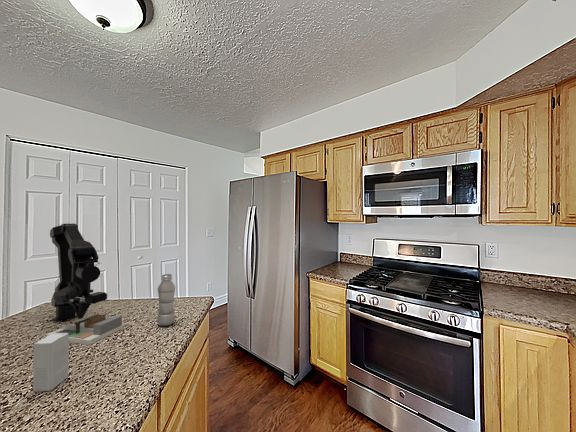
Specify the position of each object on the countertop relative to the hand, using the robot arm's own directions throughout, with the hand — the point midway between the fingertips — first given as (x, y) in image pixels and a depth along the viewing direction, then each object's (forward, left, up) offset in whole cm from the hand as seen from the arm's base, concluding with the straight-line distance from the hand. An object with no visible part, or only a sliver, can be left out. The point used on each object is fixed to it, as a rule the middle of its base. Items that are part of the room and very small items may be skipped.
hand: (80, 318), depth 100 cm
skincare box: (+25, -28, -4) cm, 37 cm away
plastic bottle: (+28, +12, -4) cm, 31 cm away
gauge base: (+5, -2, -4) cm, 7 cm away
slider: (+7, -2, -3) cm, 8 cm away
